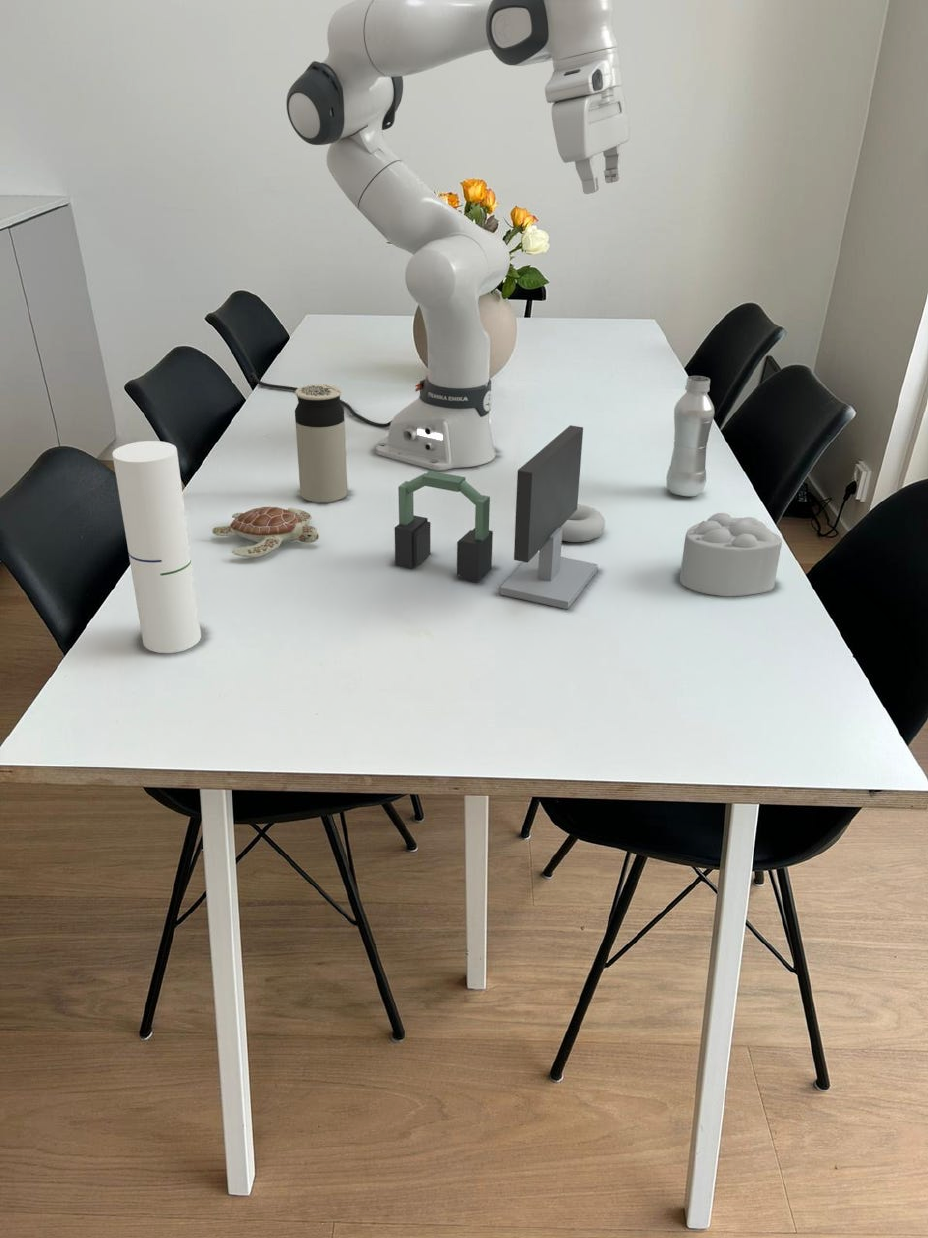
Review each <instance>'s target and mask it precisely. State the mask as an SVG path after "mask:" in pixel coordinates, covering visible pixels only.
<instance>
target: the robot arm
mask: <svg viewBox="0 0 928 1238" xmlns="http://www.w3.org/2000/svg"><path fill="white" fill-rule="evenodd" d="M613 18H614V0H488V1H487V0H486V1H479V0H478V1H477V0H476V1H474V0H354V1H351V2H349V3H347V4H345V5H343V6H341V7H339V8H338V9H337V10H336V11H335V12H334V13H333V14H332V16H331V18H330V20H329V23H328V25H327V26H328V27H327V32H326V34H327V35H326V37H327V39H326V40H327V46H328V55H327V56H326V58H325V59H324V60H323V61H322V62H320V61H316V60H313V61H312V62H311V63H310V64H309V66H308V67H307V68H306V69H305V71H304V72H303V73H302V74H301V75H300V76H299V77H298V78H297V79H296V80H295V81H294V82H293V84H291V86H290V88H289V89H288V92H287V96H286V101H285V103H286V112H287V116H288V117H287V118H288V120H289V123H290V124H291V126H292V127H291V128H292V129H293V130H294V132H295V133H296V134H297V136H298V137H299V138H300V139H301V140H302V141H304V142H305V143H307V144H309V145H312V146H325V145H329V147H328V149H327V153H326V157H325V158H326V159H325V160H326V166H327V170H328V171H329V173H330V174H331V176H332V178H333V179H334V181H335V182H336V184H337V185H338V187H339V188H340V189H341V191H342V192H343V193H344V195H345V196H346V197H347V198H348V199H349V201H350V202H351V203H352V205H354V207H355V208H356V209H357V210H358V211H359V212H360V213H361V214H362V215H363V217H364V218H365V219H366V220H367V221H368V222H369V223H370V224H371V225H372V226H373V227H374V229H376V230H377V231H378V232H379V233H380V234H381V235H382V236H383V237H384V238H385V239H386V241H387V242H388V243H390V244H391V245H393V246H394V247H396V248H399V249H402V250H404V251H406V252H408V253H410V254H412V256H411V257H410V259H408V262H407V264H406V267H405V273H404V274H405V275H404V276H405V277H404V278H405V285H406V288H407V291H408V293H409V294H410V296H411V297H412V299H413V300H414V302H416V303H417V304H418V306H419V309H420V312H421V316H422V319H423V323H424V327H425V332H426V340H427V342H426V343H427V375H426V376H425V378H423V379H422V380H419V383H417V384H415V385H414V386H415V390H414V391H415V392H418V391H419V395H418V398H416V399H415V400H413V401H412V402H410V403H409V404H408V405H407V406H406V407H404V408H403V409H402V410H400V411H399V412H397V413H396V414H395V415H394V416H393V418H392V419H391V420H390V421H389V422H385V423H379V422H374V421H372V420H370V419H368V418H366V417H364V416H362V415H360V414H359V413H357V412H356V411H355V410H354V409H353V408H352V406H350V404H348V403H347V402H345V401H344V400H342V399H340V403H341V405H342V407H345V408H346V409H347V410H348V411H349V413H350V414H351V415H352V416H353V417H354V418H356V419H358V420H360V421H362V422H364V423H365V424H367V425H369V426H373V427H375V428H376V427H377V428H388V427H389V428H388V435H387V436H385V437H384V438H383V439H381V440H380V441H379V442H378V443H377V445H376V450H375V451H376V455H378V456H381V457H386V458H389V459H392V460H396V461H400V462H404V463H408V464H410V465H414V466H418V467H421V468H425V469H429V470H432V471H437V472H438V471H446V470H451V469H458V468H472V467H476V466H477V467H478V466H482V465H484V464H487V463H490V462H491V461H493V460H494V459H495V458H496V456H497V451H496V449H495V444H494V440H493V436H492V428H491V417H490V415H491V414H490V412H491V409H492V401H493V400H492V399H493V398H492V396H493V395H492V380H491V379H490V363H491V361H490V360H491V359H490V358H491V338H490V335H489V332H487V330H486V329H485V328H484V326H483V322H482V318H481V312H480V307H479V301H480V297H481V296H485V295H486V294H489V293H491V292H493V291H494V290H495V289H496V288H497V287H498V286H499V285H500V284H501V283H502V281H503V280H504V279H505V278H506V276H507V275H508V273H509V270H510V267H511V254H510V251H509V250H510V249H509V248H508V246H507V244H506V241H504V240H503V239H502V238H501V236H499V235H497V233H495V232H491V231H489V230H487V229H485V228H482V227H481V226H479V225H478V224H476V223H475V222H474V221H472V219H470V218H469V217H468V216H466V215H464V214H463V213H462V212H460V211H459V210H457V209H456V208H454V207H453V206H452V205H450V203H447V202H446V201H445V200H443V199H442V198H441V197H440V196H438V195H437V194H436V193H435V192H434V191H433V190H432V189H431V188H430V187H429V186H428V185H427V183H425V182H424V181H423V180H422V179H421V178H420V177H419V176H418V175H417V174H416V173H415V171H414V170H413V169H411V168H410V166H408V165H407V163H406V162H405V161H404V160H403V159H401V158H400V156H399V155H398V154H397V153H396V152H395V151H394V150H392V148H391V147H390V146H389V144H388V143H387V142H386V140H385V137H384V134H383V131H386V130H388V129H390V128H391V127H392V126H393V125H394V123H395V119H396V112H397V111H398V109H399V107H400V105H401V103H402V98H403V93H404V79H403V78H404V77H407V76H411V75H415V74H419V73H421V72H425V71H428V70H432V69H435V68H437V67H439V66H442V65H446V64H448V63H450V62H454V61H455V60H458V59H461V58H465V57H467V56H469V55H473V54H477V53H480V52H484V51H489V50H491V52H492V53H493V55H494V56H495V57H496V58H497V59H498V60H499V61H500V63H502V64H504V65H507V66H513V67H525V66H530V65H536V64H540V63H545V62H550V61H552V68H553V71H552V74H551V77H550V78H549V80H548V82H547V83H546V84H545V86H544V93H545V95H544V96H545V99H546V102H547V103H548V104H552V105H551V120H552V121H551V122H552V126H553V132H554V133H553V134H554V137H555V142H556V148H557V151H558V154H559V156H560V159H561V160H562V162H563V163H564V164H567V163H573V162H574V164H575V165H574V166H575V170H576V172H577V175H578V177H579V179H580V181H581V186H582V187H581V188H582V192H583V194H585V195H589V194H595V193H596V192H598V191H599V188H600V187H599V180H598V177H596V174H595V170H594V165H595V164H594V156H596V155H599V154H601V153H602V154H603V157H604V162H605V163H604V164H605V165H604V166H605V167H604V168H605V169H604V170H603V174H604V175H603V176H604V181H605V183H606V184H612V183H616V182H618V181H620V179H621V176H620V175H621V173H620V162H621V161H620V160H621V147H620V146H621V145H623V144H626V143H627V142H629V141H630V134H631V131H630V122H629V116H628V111H627V103H626V100H625V99H626V98H625V94H624V91H623V89H622V88H621V86H622V85H623V78H622V70H621V61H620V53H619V45H618V41H617V38H616V36H615V33H614V27H613ZM248 378H250V379H252V378H253V380H254V381H255V383H256V384H258V385H259V386H262V387H266V388H269V389H271V388H272V389H280V390H287V391H294V392H295V391H296V390H297V389H298V388H299V387H296V386H289V385H280V384H271V383H267V382H264V381H261V380H259V378H258V376H257V374H256V373H255V372H254V371H253V372H250V374H249V376H248Z"/></svg>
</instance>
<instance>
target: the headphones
mask: <svg viewBox="0 0 928 1238" xmlns="http://www.w3.org/2000/svg"><path fill="white" fill-rule="evenodd" d="M424 487H428V488H434V489H439V490H446V491H450V492H456V493H459V492H460V493H461V494H462V495H463V496H464V497H466V498H467V499H468V500H469V501H470V502H471V503H472V504H473V505H475V506H474V507H475V508H474V509H475V511H474V513H475V514H474V528H473V529H470V530H469V531H467V533H465V534H464V535H463V536H462V537H461V538H460V539H459V540H458V541H457V542H456V576H459V579H460V580H462V581H468V582H472V583H476V584H477V583H479V582H480V581H481V580H482V579H483V578H484V577H485V576H486V575H487V574H488V573H489V572H490V571H491V570H492V568H493V539H494V537H493V536H494V531H493V530H490V510H491V509H490V508H491V496H489V495H485V494H484V495H483V494H481V493H480V492H478V490H476V489H475V488H474V487H473V486H472V485H471V484H469V482H467V481H466V476H460V475H455V474H450V473H446V472H445V473H444V472H438V471H435V470H429V471H427V472H424V473H422V474H421V475H419V476H416V477H414V478H413V479H411V480H409V481H408V480H405V481H404V482H403V483H401V484H400V485H398V489H397V490H398V524H397V525H396V526H395V527H394V561H395V562H394V564H395V565H394V566H399V567H403V568H408V569H413V568H415V567H417V566H419V565H420V564H421V563H422V562H423V561H424V560H425V559H426V558H428V557H429V556H430V555H431V551H432V549H431V521H428V520H429V518H428V517H425V516H424V517H423V516H419V515H415V514H414V512H415V511H414V492H416V491H418V490H420V489H422V488H424Z"/></svg>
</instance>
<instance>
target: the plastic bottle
mask: <svg viewBox="0 0 928 1238" xmlns="http://www.w3.org/2000/svg"><path fill="white" fill-rule="evenodd" d="M710 386H711V379H710V378H709V377H706V376H704V375H703V376H702V375H691V376H687V378H686V384H685V387H684V390H685V391H686V392H685V393H683V395H682V396H681V397H680V398H679V399H678V400H677V402H676V403H675V406H674V409H673V422H674V423H673V424H674V426H673V427H674V436H673V440H674V441H673V449H672V454H671V459H670V465H669V466H668V470H667V474H666V477H665V480H666V487H667V489H668V491H669V492H670V493H672V494H673V495H677V496H681V497H695V496H699V495H700V494H702V492H704V490H705V487H706V484H707V469H706V466H707V465H706V464H707V463H706V461H707V447H708V441H709V435H710V432H711V429H712V424H713V421H714V417H715V406H714V404H713V402H712V400H711V398H710V396H709V394H708V392H710V389H711V388H710Z"/></svg>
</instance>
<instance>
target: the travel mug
mask: <svg viewBox="0 0 928 1238" xmlns="http://www.w3.org/2000/svg"><path fill="white" fill-rule="evenodd" d="M297 388H298V389H297V390H296V391H294V394H295V396H296V399H297V405H296V407H295V409H294V421H295V432H296V433H295V435H296V449H297V451H296V452H297V464H298V479H299V481H298V482H299V492H300V494H299V495H300V496H301V498H303V499H305V500H306V501H310V502H313V503H319V504H320V503H321V504H322V503H323V504H326V503H333V502H337V501H340V500H341V499H343V498H345V497H346V496H348V493H349V492H348V491H349V489H348V486H349V485H348V466H347V464H348V463H347V444H346V422H345V421H346V420H345V408H344V406H343V405H342V404H341V403H340V400H341V395H342V393H343V390H342V389H341V388H340V387H339V386H336V385H333V384H326V383H325V384H322V383H319V384H317V383H316V384H308V385H303V386H300V387H297Z"/></svg>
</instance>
